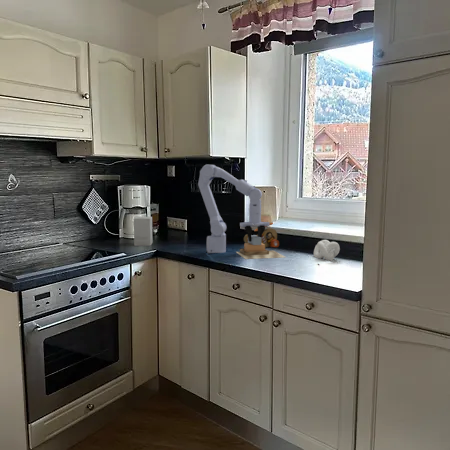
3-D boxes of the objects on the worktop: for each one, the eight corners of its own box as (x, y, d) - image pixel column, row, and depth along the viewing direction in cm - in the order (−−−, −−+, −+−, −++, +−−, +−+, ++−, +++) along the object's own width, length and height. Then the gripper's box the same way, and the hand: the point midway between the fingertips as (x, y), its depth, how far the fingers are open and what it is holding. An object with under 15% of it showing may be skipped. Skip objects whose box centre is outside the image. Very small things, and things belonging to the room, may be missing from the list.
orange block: (247, 254, 204) (247, 245, 204) (244, 252, 209) (244, 243, 208) (264, 253, 206) (264, 244, 206) (261, 251, 211) (261, 242, 211)
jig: (245, 261, 194) (245, 255, 193) (235, 253, 210) (235, 248, 210) (286, 259, 199) (286, 254, 198) (273, 252, 215) (273, 247, 215)
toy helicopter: (280, 248, 227) (281, 222, 225) (248, 251, 216) (249, 225, 214) (271, 245, 233) (272, 221, 232) (240, 249, 223) (240, 223, 221)
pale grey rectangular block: (253, 245, 202) (253, 237, 202) (247, 242, 211) (247, 235, 210) (261, 244, 203) (261, 237, 203) (255, 242, 212) (255, 235, 211)
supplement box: (153, 243, 237) (152, 216, 235) (150, 246, 228) (150, 218, 226) (136, 242, 237) (136, 216, 235) (133, 245, 228) (133, 218, 226)
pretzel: (306, 258, 201) (307, 240, 200) (323, 255, 208) (323, 237, 207) (325, 263, 192) (326, 243, 191) (342, 260, 199) (343, 241, 198)
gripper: (243, 214, 199) (242, 243, 201) (272, 214, 203) (271, 242, 205) (239, 213, 206) (238, 240, 208) (267, 212, 210) (266, 239, 212)
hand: (254, 241), depth 207 cm, fingers open, 4 cm apart
